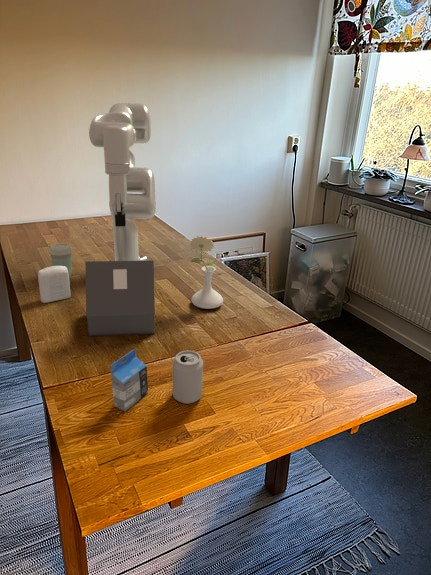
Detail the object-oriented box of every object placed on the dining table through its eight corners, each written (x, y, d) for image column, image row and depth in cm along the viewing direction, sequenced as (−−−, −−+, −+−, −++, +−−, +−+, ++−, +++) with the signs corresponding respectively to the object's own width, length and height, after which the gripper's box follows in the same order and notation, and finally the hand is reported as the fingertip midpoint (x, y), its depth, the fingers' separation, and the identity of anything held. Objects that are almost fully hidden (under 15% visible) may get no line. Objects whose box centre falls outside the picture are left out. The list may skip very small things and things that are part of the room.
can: (172, 387, 119) (172, 348, 113) (201, 386, 119) (202, 348, 114) (172, 406, 112) (172, 366, 107) (202, 405, 112) (204, 365, 107)
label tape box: (125, 412, 109) (122, 370, 104) (112, 406, 111) (109, 364, 106) (148, 393, 116) (147, 352, 111) (136, 387, 118) (134, 347, 113)
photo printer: (68, 293, 165) (65, 262, 159) (72, 298, 162) (69, 266, 156) (39, 299, 160) (35, 267, 154) (43, 304, 156) (38, 271, 151)
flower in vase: (228, 301, 164) (232, 235, 153) (214, 314, 155) (217, 245, 144) (196, 293, 169) (197, 229, 158) (181, 306, 159) (181, 238, 149)
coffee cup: (79, 273, 181) (76, 244, 176) (66, 281, 174) (62, 252, 169) (61, 269, 184) (57, 241, 178) (47, 277, 176) (43, 248, 171)
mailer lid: (85, 261, 137) (85, 261, 137) (153, 260, 140) (153, 260, 140) (86, 316, 136) (86, 316, 135) (154, 314, 139) (154, 314, 138)
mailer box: (94, 311, 153) (92, 293, 150) (153, 309, 156) (153, 291, 153) (88, 336, 139) (87, 316, 136) (154, 333, 142) (154, 314, 139)
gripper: (106, 163, 145) (110, 219, 153) (103, 173, 132) (107, 233, 140) (130, 164, 146) (132, 219, 154) (129, 173, 133) (131, 233, 141)
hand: (120, 225), depth 147 cm, fingers closed
